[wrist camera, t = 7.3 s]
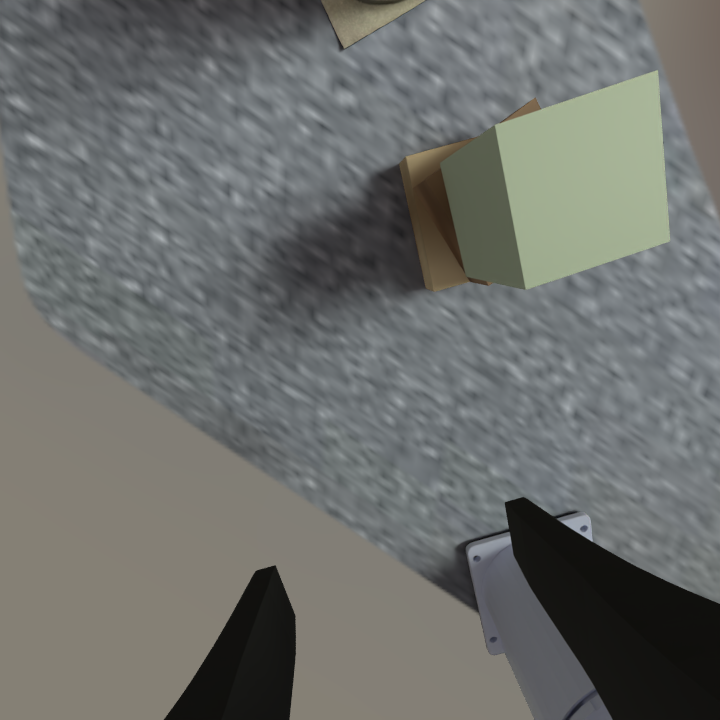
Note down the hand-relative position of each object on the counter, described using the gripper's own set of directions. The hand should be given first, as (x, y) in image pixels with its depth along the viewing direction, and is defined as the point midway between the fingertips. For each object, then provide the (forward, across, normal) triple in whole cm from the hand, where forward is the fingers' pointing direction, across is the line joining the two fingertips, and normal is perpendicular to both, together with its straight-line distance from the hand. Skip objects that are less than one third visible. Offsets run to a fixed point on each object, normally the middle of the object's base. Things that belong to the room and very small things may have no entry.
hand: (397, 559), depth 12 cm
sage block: (+7, -8, -9) cm, 14 cm away
